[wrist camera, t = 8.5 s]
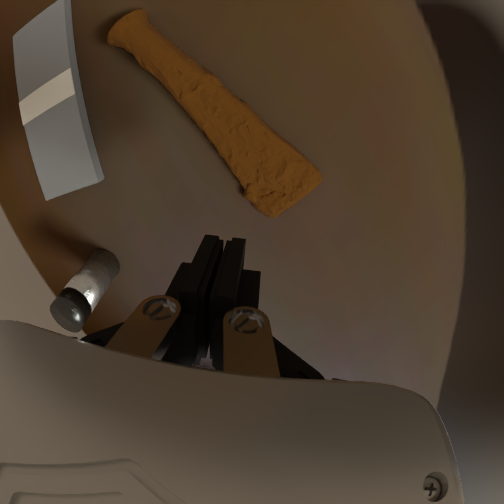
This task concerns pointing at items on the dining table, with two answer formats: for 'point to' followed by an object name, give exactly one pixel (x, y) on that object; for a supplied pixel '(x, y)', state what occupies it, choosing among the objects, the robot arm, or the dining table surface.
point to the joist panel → (54, 103)
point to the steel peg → (85, 290)
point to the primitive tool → (222, 119)
